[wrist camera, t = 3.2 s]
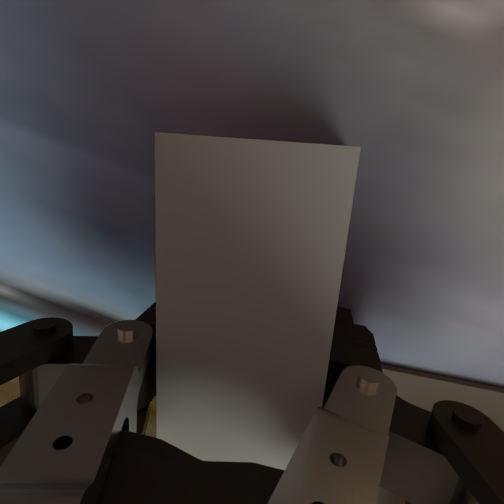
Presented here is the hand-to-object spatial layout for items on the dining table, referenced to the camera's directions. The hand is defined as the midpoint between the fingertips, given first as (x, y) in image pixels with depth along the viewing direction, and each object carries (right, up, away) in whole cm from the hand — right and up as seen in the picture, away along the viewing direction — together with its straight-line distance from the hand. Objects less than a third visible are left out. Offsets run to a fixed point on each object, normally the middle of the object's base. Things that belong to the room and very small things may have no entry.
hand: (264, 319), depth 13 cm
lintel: (0, 0, +1) cm, 1 cm away
